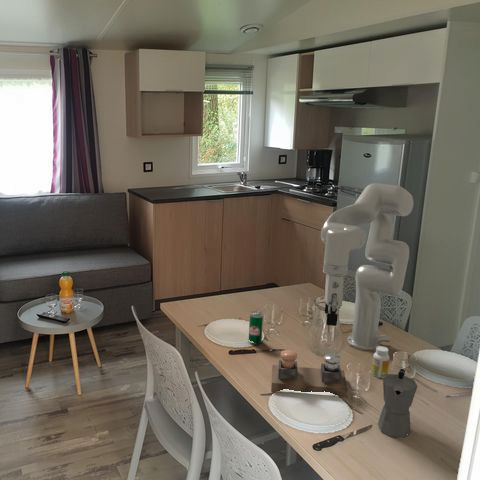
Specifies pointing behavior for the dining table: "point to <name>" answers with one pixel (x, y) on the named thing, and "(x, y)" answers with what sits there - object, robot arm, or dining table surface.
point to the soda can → (256, 327)
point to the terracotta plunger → (288, 359)
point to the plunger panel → (309, 379)
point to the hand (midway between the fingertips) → (330, 319)
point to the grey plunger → (331, 362)
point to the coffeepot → (397, 404)
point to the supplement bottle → (380, 362)
